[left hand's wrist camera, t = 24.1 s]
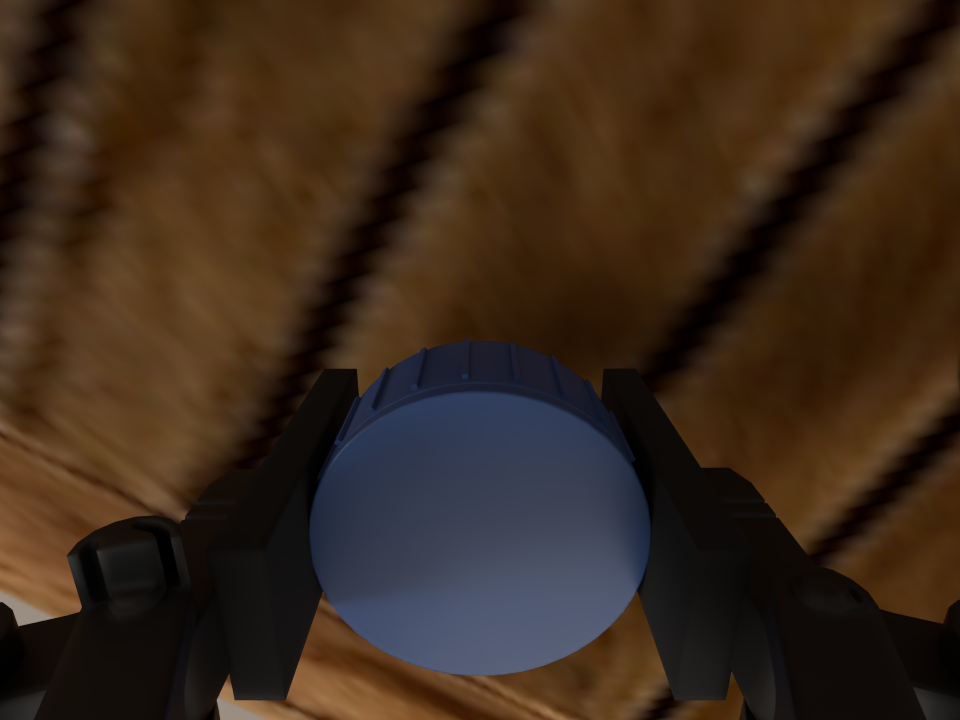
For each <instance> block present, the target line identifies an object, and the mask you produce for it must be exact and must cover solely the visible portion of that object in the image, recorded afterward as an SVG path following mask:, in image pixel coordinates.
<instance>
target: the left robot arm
mask: <svg viewBox="0 0 960 720" xmlns="http://www.w3.org/2000/svg"><path fill="white" fill-rule="evenodd" d="M357 396H359V391H358V378H357V369H324V371H323V372H322V374H321V375H320V377H319V378H318V380H317V381H316V383H315V384H314V386H313V387H312V389H311V390H310V392H309V393H308V395H307V396H306V398H305V399H304V401H303V402H302V404H301V405H300V407H299V408H298V410H297V411H296V413H295V415H294V416H293V418H292V419H291V421H290V422H289V424H288V425H287V427H286V428H285V430H284V431H283V433H282V434H281V436H280V437H279V439H278V440H277V442H276V443H275V445H274V446H273V448H272V449H271V451H270V452H269V454H268V455H267V457H266V458H265V460H264V462H263V463H262V465H261V466H260V468H259V469H258V470H231V471H229V472H228V473H226V474H225V475H223V476H222V477H220V478H219V479H217V480H216V481H214V482H213V483H211V484H210V485H209V486H208V487H207V489H206V490H205V491H204V493H203V494H202V495H201V496H200V498H199V499H198V500H197V502H196V505H194V506H193V507H192V508H191V509H190V511H189V512H188V513H187V515H186V516H185V520H182V521H181V522H180V524H179V525H178V524H177V523H175V522H174V521H173V520H172V519H170V518H165V517H160V516H139V517H133V518H129V519H125V520H121V521H117V522H114V523H112V524H109V525H107V526H105V527H102V528H100V529H98V530H96V531H94V532H92V533H91V534H89V535H88V536H86V537H85V538H84V539H82V540H81V541H79V542H78V543H77V544H76V545H75V546H74V547H73V549H72V550H71V551H70V552H69V553H68V555H67V558H68V561H69V565H70V568H71V571H72V575H73V578H74V581H75V585H76V588H77V592H78V595H79V598H80V602H81V605H82V608H81V611H80V612H78V613H74V614H71V615H67V616H63V617H58V618H54V619H49V620H45V621H41V622H36V623H31V624H27V625H22V626H18V624H17V621H16V619H15V616H14V613H13V610H12V609H11V608H9V607H8V606H7V605H6V604H4V603H3V602H0V720H220V715H219V709H218V705H217V698H218V696H219V694H220V692H221V690H222V687H223V685H224V683H225V681H226V679H227V677H228V674H230V679H231V684H232V689H233V694H234V699H235V700H286V697H287V694H288V691H289V688H290V686H291V683H292V680H293V677H294V674H295V671H296V668H297V665H298V662H299V659H300V656H301V653H302V651H303V648H304V645H305V642H306V639H307V636H308V633H309V630H310V627H311V624H312V621H313V619H314V616H315V613H316V610H317V607H318V604H319V601H320V598H321V595H322V592H323V590H322V588H321V586H320V584H319V581H318V579H317V576H316V574H315V571H314V568H313V563H312V555H311V547H310V539H309V514H310V510H311V506H312V502H313V497H314V494H315V492H316V489H317V487H318V485H319V484H318V483H316V479H317V476H318V474H319V472H320V470H321V468H322V466H323V464H324V462H325V459H326V457H327V455H328V453H329V451H330V449H331V447H332V445H333V443H334V440H335V438H336V436H337V434H338V432H339V430H341V428H342V426H343V424H344V422H345V419H346V417H347V415H348V413H349V411H350V409H351V407H352V404H353V402H354V400H355V399H356V397H357ZM601 402H602V403H603V404H604V406H605V407H606V409H607V411H608V412H609V411H611V410H612V412H613V414H614V416H615V418H616V420H617V422H618V424H619V426H620V428H621V430H622V432H623V435H624V437H625V439H626V441H627V443H628V445H629V447H630V449H631V451H632V453H633V455H634V458H635V461H633V462H632V465H633V467H634V469H635V471H636V473H637V476H638V477H639V480H640V482H641V484H642V486H643V489H644V492H645V495H646V498H647V501H648V505H649V511H650V517H651V524H652V525H651V541H650V549H649V557H648V564H647V567H646V570H645V573H644V576H643V579H642V581H641V583H640V585H639V587H638V589H637V591H638V594H639V597H640V600H641V603H642V606H643V609H644V612H645V615H646V617H647V620H648V623H649V626H650V629H651V632H652V635H653V638H654V641H655V644H656V647H657V650H658V652H659V655H660V658H661V661H662V664H663V667H664V670H665V673H666V676H667V679H668V682H669V684H670V687H671V690H672V693H673V696H674V699H675V700H726V696H727V691H728V686H729V681H730V675H731V671H732V673H733V675H734V677H735V679H736V681H737V683H738V686H739V688H740V690H741V692H742V694H743V696H744V700H743V705H742V709H741V714H740V719H739V720H960V600H958V601H956V602H955V603H954V604H953V605H951V606H950V607H949V609H948V612H947V614H946V617H945V620H944V623H943V624H941V623H936V622H932V621H927V620H923V619H918V618H914V617H909V616H905V615H900V614H896V613H892V612H888V611H885V610H881V609H879V607H878V605H877V604H876V603H875V601H874V600H873V598H872V597H871V596H870V594H869V593H868V592H867V591H866V590H865V589H863V588H862V587H861V586H860V585H858V584H857V583H856V582H854V581H853V580H852V579H850V578H848V577H846V576H844V575H842V574H840V573H838V572H836V571H834V570H831V569H828V568H824V567H821V566H817V565H815V564H814V563H813V562H812V560H811V559H810V558H809V557H808V555H807V554H806V553H805V551H804V550H803V549H802V548H801V546H800V545H799V544H798V542H797V541H796V540H795V539H794V537H793V536H792V535H791V533H790V532H789V531H788V530H787V528H786V527H785V526H784V524H783V523H782V522H781V520H780V519H779V518H776V514H775V513H774V511H773V510H772V509H771V508H770V506H769V505H768V504H767V503H765V502H764V499H763V497H762V496H761V495H760V493H759V492H758V491H757V490H756V488H755V487H754V486H753V484H752V483H751V482H749V481H748V480H746V479H745V478H743V477H742V476H740V475H739V474H737V473H736V472H734V471H733V470H731V469H730V468H701V467H700V465H699V464H698V462H697V461H696V459H695V458H694V456H693V455H692V453H691V452H690V450H689V449H688V447H687V446H686V444H685V443H684V441H683V440H682V438H681V437H680V435H679V434H678V432H677V431H676V429H675V428H674V426H673V425H672V423H671V422H670V420H669V418H668V417H667V415H666V414H665V412H664V411H663V409H662V408H661V406H660V405H659V403H658V402H657V400H656V399H655V397H654V396H653V394H652V393H651V391H650V390H649V388H648V387H647V385H646V384H645V382H644V381H643V379H642V378H641V376H640V375H639V373H638V372H637V370H636V369H604V370H603V383H602V396H601Z"/></svg>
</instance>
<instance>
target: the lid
mask: <svg viewBox="0 0 960 720" xmlns="http://www.w3.org/2000/svg"><path fill="white" fill-rule="evenodd" d="M633 461H635V458H634V455H633V453H632V451H631V449H630V447H629V445H628V443H627V441H626V439H625V437H624V435H623V432H622V430H621V428H620V426H619V424H618V422H617V420H616V418H615V416H614V414H613V412H612V410H611V411H609V412H608V411H607V409H606V407H605V406H604V404H603V403H602V402H601V400H600V399H599V397H598V396H597V395H596V393H595V392H594V389H593V387H592V385H591V383H590V381H589V380H588V379H586V380H585V381H584V380H583V379H582V378H580V377H579V376H578V375H577V374H575V373H574V372H573V371H572V370H570V369H569V368H568V367H566V366H565V365H563V364H561V363H560V362H558V360H557V357H555V356H553V355H551V357H549V356H546V355H544V354H542V353H540V352H537V351H535V350H532V349H529V348H525V347H522V346H518V345H515V342H512V341H510V342H509V344H508V343H502V342H495V341H470V339H464V342H457V343H451V344H447V345H442V346H438V347H434V348H431V349H428V350H427V349H426V348H423V349H421V350H420V353H417V354H415V355H413V356H411V357H409V358H407V359H405V360H403V361H402V362H400V363H398V364H397V365H395V366H394V367H392V368H391V369H390V370H389V369H388V368H385V369H384V370H383V372H382V374H381V377H380V378H378V379H377V380H376V381H375V382H374V383H373V384H372V385H371V386H370V387H369V388H368V390H367V391H366V392H365V393H364V394H363V396H362V397H361V398H360V397H359V396H357V397H356V399H355V400H354V402H353V404H352V407H351V409H350V411H349V413H348V415H347V417H346V419H345V422H344V424H343V426H342V428H341V430H339V432H338V434H337V436H336V438H335V440H334V443H333V445H332V447H331V449H330V451H329V453H328V455H327V457H326V459H325V462H324V464H323V466H322V468H321V470H320V472H319V474H318V476H317V479H316V483H318V484H319V485H318V487H317V489H316V492H315V494H314V497H313V502H312V506H311V510H310V514H309V539H310V547H311V555H312V563H313V568H314V571H315V574H316V576H317V579H318V581H319V584H320V586H321V588H322V590H323V592H324V593H325V595H326V597H327V599H328V600H329V602H330V604H331V605H332V606H333V608H334V609H335V610H336V611H337V613H338V614H339V615H340V616H341V618H342V619H343V620H344V621H345V622H346V623H347V624H348V625H349V626H350V627H351V628H352V629H353V630H354V631H355V632H356V633H358V634H359V635H360V636H362V637H363V638H364V639H366V640H367V641H368V642H370V643H371V644H372V645H374V646H376V647H377V648H379V649H381V650H382V651H384V652H386V653H387V654H389V655H392V656H394V657H396V658H398V659H400V660H403V661H405V662H407V663H410V664H413V665H416V666H419V667H422V668H425V669H430V670H434V671H439V672H443V673H450V674H458V675H472V676H489V675H503V674H510V673H516V672H521V671H526V670H530V669H533V668H537V667H541V666H544V665H547V664H549V663H552V662H554V661H557V660H559V659H562V658H564V657H566V656H568V655H570V654H572V653H574V652H576V651H577V650H579V649H581V648H583V647H584V646H585V645H587V644H588V643H590V642H591V641H593V640H594V639H596V638H597V637H598V636H599V635H601V634H602V633H603V632H604V631H605V630H606V629H607V628H609V627H610V626H611V625H612V624H613V623H614V622H615V620H616V619H617V618H618V617H619V616H620V615H621V614H622V613H623V612H624V610H625V609H626V607H627V606H628V604H629V603H630V601H631V600H632V598H633V597H634V595H635V593H636V591H637V589H638V587H639V585H640V583H641V581H642V579H643V576H644V573H645V570H646V567H647V564H648V557H649V549H650V541H651V525H652V524H651V517H650V511H649V505H648V501H647V498H646V495H645V492H644V489H643V486H642V484H641V482H640V480H639V477H638V476H637V473H636V471H635V469H634V467H633V465H632V462H633Z"/></svg>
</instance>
